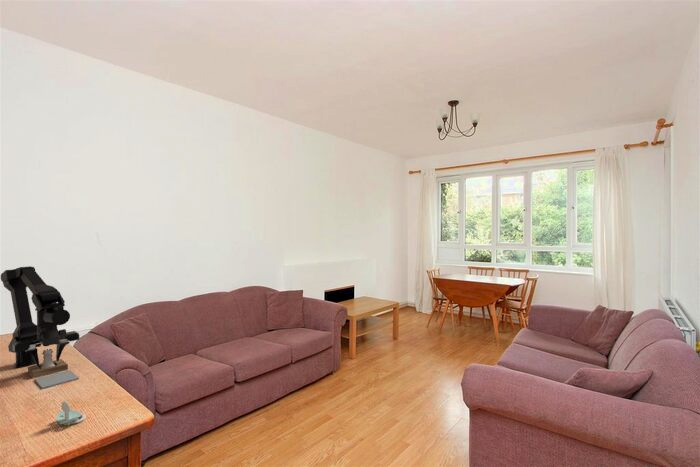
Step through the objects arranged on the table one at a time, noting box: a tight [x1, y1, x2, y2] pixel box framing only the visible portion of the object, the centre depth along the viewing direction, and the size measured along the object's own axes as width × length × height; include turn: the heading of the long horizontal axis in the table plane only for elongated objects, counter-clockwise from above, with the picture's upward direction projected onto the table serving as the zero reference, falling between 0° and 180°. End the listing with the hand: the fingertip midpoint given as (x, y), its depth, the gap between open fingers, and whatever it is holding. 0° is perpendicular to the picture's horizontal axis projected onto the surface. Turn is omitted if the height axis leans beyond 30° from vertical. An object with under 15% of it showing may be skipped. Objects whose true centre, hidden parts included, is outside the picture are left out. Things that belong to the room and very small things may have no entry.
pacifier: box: [55, 400, 87, 426], centre depth 95 cm, size 7×6×6 cm
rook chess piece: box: [41, 348, 55, 369], centre depth 133 cm, size 4×4×8 cm
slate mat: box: [34, 369, 80, 390], centre depth 124 cm, size 12×10×1 cm
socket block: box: [27, 358, 69, 379], centre depth 132 cm, size 10×10×2 cm
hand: (47, 363), depth 133 cm, fingers open, 5 cm apart
